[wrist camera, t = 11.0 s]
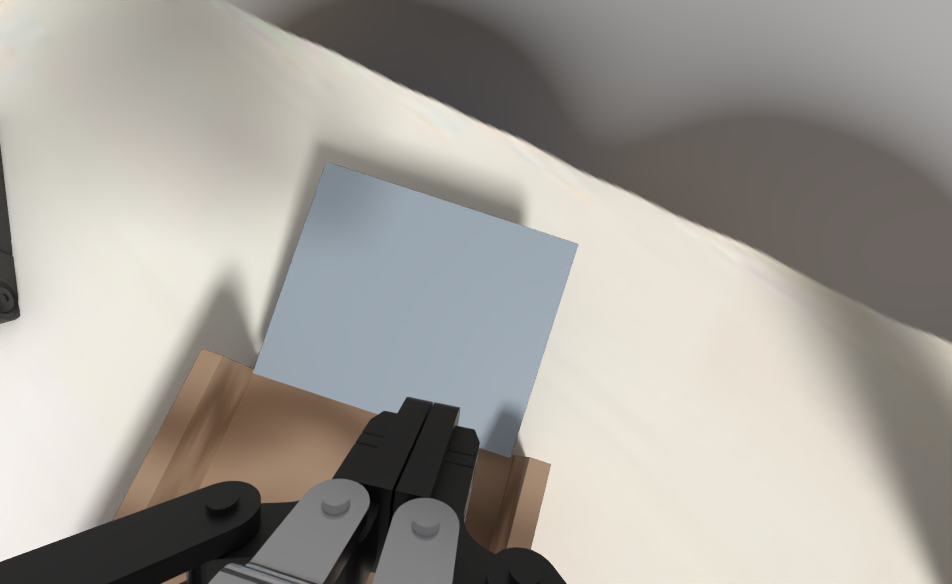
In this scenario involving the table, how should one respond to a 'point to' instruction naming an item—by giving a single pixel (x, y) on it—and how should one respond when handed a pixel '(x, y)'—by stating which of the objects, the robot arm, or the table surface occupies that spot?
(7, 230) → the portable electronic device stand
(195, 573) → the robot arm
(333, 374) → the blue-grey flat rectangular panel
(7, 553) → the table surface
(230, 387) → the wooden tray
